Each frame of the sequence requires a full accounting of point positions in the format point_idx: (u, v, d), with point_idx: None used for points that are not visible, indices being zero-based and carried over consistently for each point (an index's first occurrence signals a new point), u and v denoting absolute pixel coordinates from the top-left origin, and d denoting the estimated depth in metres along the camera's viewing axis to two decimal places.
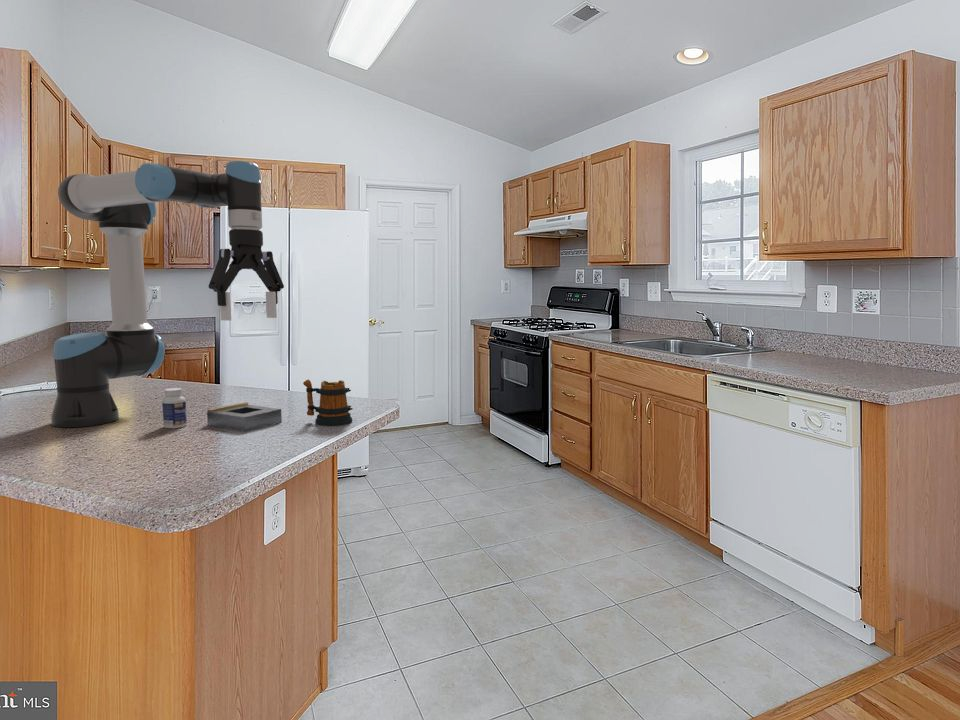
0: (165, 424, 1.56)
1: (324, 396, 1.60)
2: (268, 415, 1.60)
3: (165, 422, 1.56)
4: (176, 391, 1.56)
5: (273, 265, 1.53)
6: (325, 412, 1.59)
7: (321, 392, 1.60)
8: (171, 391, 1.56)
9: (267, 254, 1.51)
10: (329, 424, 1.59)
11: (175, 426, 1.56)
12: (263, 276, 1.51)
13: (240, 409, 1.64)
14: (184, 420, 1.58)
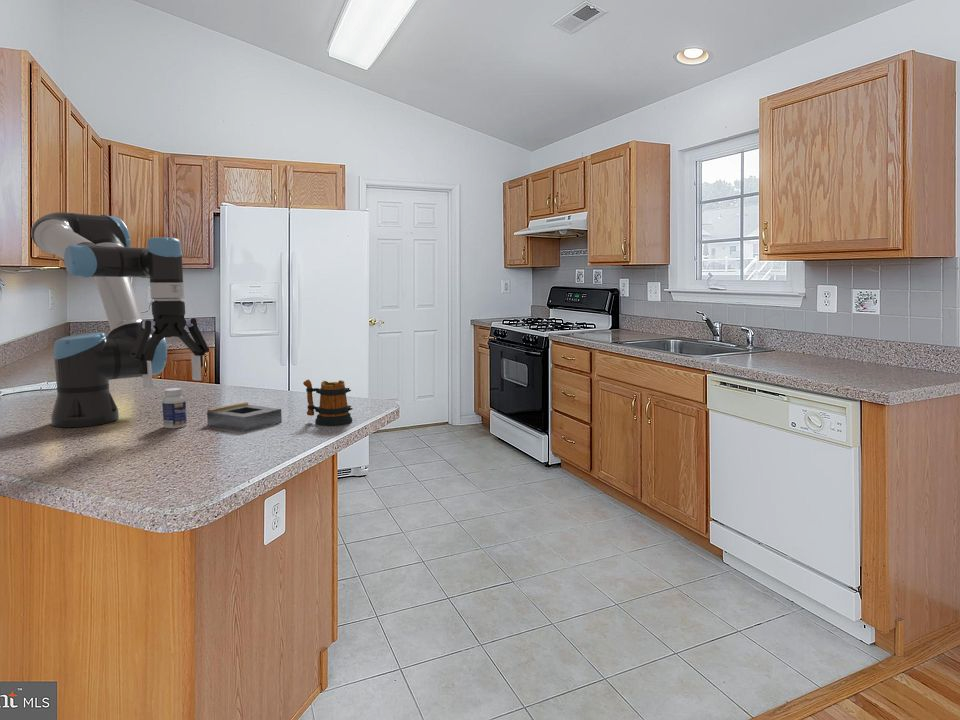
0: (165, 424, 1.56)
1: (324, 396, 1.60)
2: (268, 415, 1.60)
3: (165, 422, 1.56)
4: (176, 391, 1.56)
5: (197, 331, 1.61)
6: (325, 412, 1.59)
7: (321, 392, 1.60)
8: (171, 391, 1.56)
9: (191, 321, 1.60)
10: (329, 424, 1.59)
11: (175, 426, 1.56)
12: (187, 342, 1.60)
13: (240, 409, 1.64)
14: (184, 420, 1.58)
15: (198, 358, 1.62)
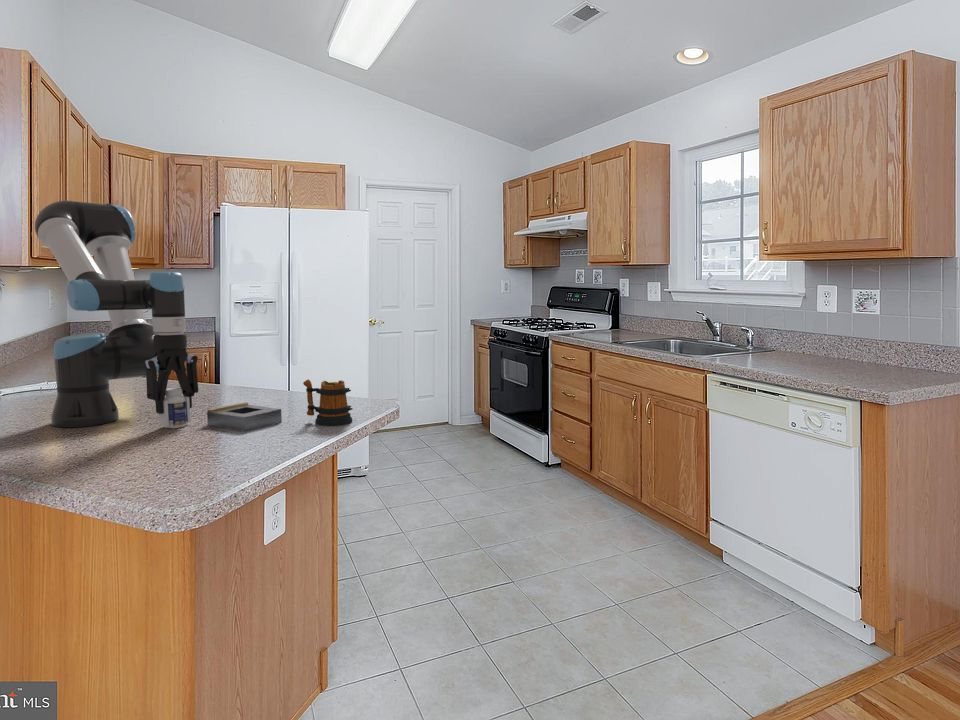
0: None
1: (324, 396, 1.60)
2: (268, 415, 1.60)
3: None
4: (176, 391, 1.56)
5: (194, 369, 1.61)
6: (325, 412, 1.59)
7: (321, 392, 1.60)
8: (171, 391, 1.56)
9: (192, 357, 1.61)
10: (329, 424, 1.59)
11: (175, 426, 1.56)
12: (181, 378, 1.59)
13: (240, 409, 1.64)
14: (184, 420, 1.58)
15: (187, 399, 1.60)
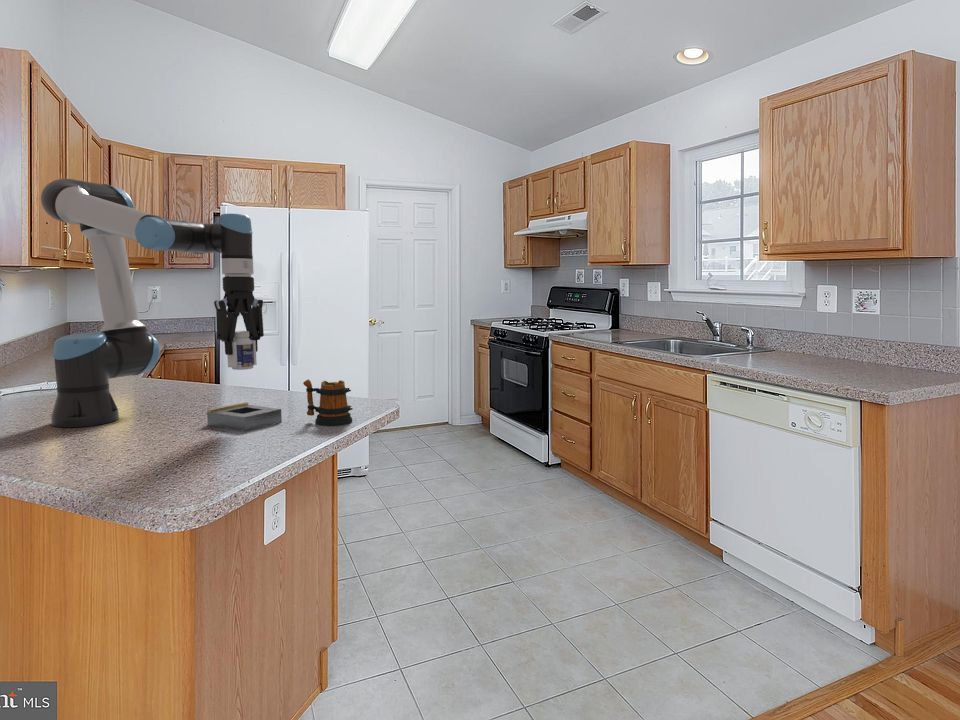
0: None
1: (324, 396, 1.60)
2: (268, 415, 1.60)
3: None
4: (244, 333, 1.58)
5: (260, 313, 1.63)
6: (325, 412, 1.59)
7: (321, 392, 1.60)
8: (240, 333, 1.57)
9: (258, 301, 1.63)
10: (329, 424, 1.59)
11: (243, 367, 1.58)
12: (248, 321, 1.60)
13: (240, 409, 1.64)
14: (251, 362, 1.60)
15: (253, 342, 1.61)
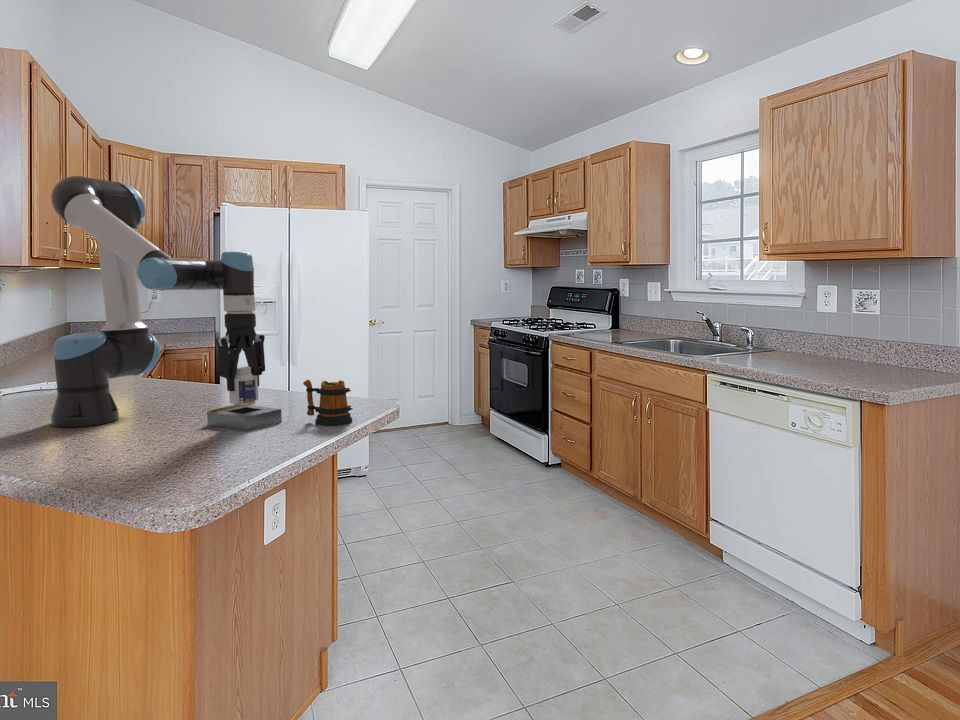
0: None
1: (324, 396, 1.60)
2: (268, 415, 1.60)
3: None
4: (246, 369, 1.59)
5: (262, 348, 1.64)
6: (325, 412, 1.59)
7: (321, 392, 1.60)
8: (242, 369, 1.58)
9: (259, 337, 1.64)
10: (329, 424, 1.59)
11: (245, 403, 1.59)
12: (250, 357, 1.62)
13: (240, 409, 1.64)
14: (253, 398, 1.61)
15: (255, 378, 1.62)
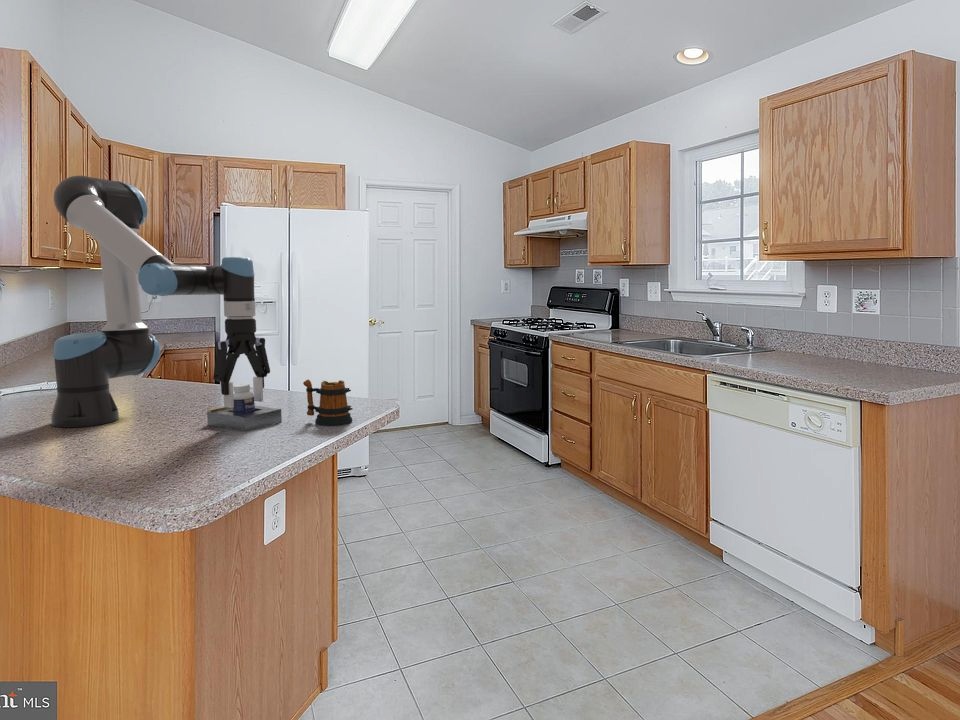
0: None
1: (324, 396, 1.60)
2: (268, 415, 1.60)
3: None
4: (245, 387, 1.59)
5: (264, 351, 1.65)
6: (325, 412, 1.59)
7: (321, 392, 1.60)
8: (241, 387, 1.59)
9: (260, 340, 1.64)
10: (329, 424, 1.59)
11: None
12: (253, 361, 1.63)
13: None
14: None
15: (260, 380, 1.64)
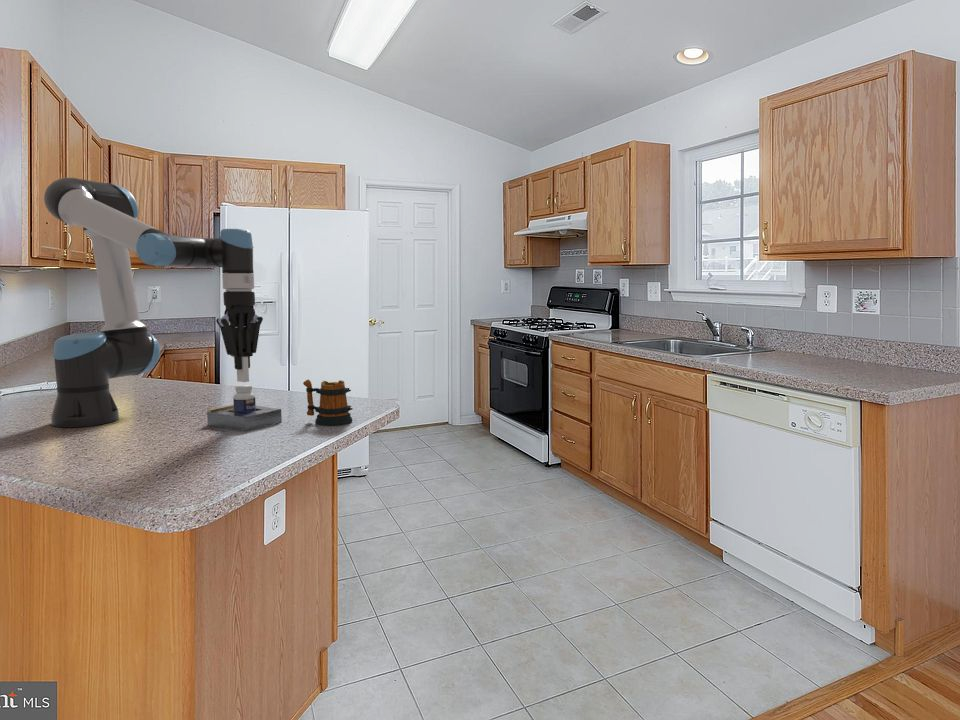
0: None
1: (324, 396, 1.60)
2: (268, 415, 1.60)
3: None
4: (247, 387, 1.60)
5: (257, 329, 1.62)
6: (325, 412, 1.59)
7: (321, 392, 1.60)
8: (243, 388, 1.59)
9: (258, 318, 1.63)
10: (329, 424, 1.59)
11: None
12: (244, 336, 1.60)
13: None
14: None
15: (246, 359, 1.60)
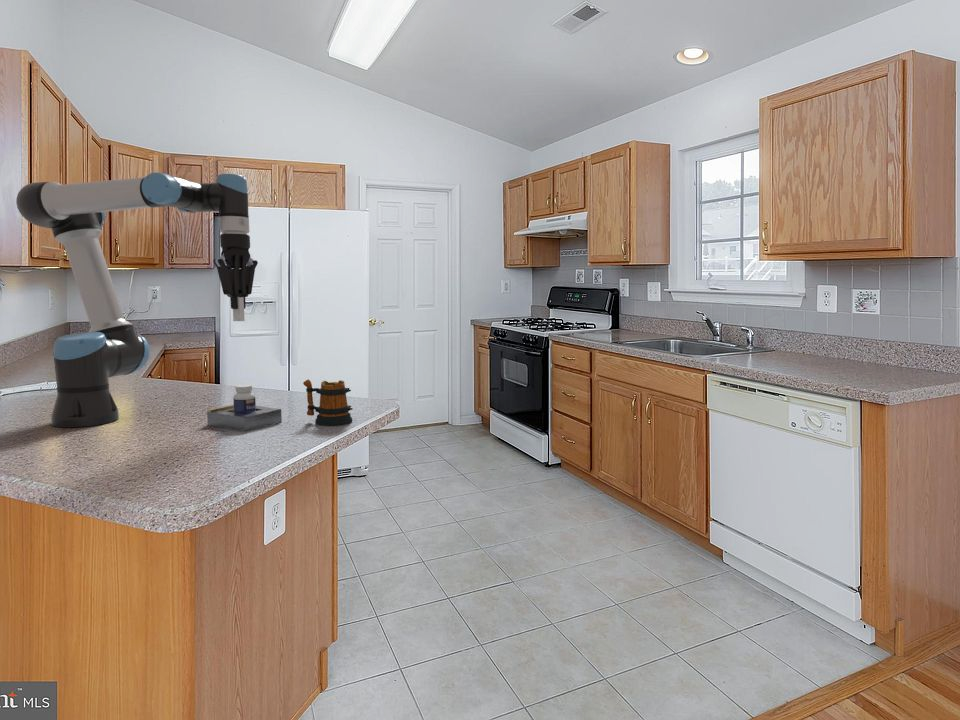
0: None
1: (324, 396, 1.60)
2: (268, 415, 1.60)
3: None
4: (247, 387, 1.60)
5: (252, 272, 1.71)
6: (325, 412, 1.59)
7: (321, 392, 1.60)
8: (243, 388, 1.59)
9: (253, 261, 1.71)
10: (329, 424, 1.59)
11: None
12: (240, 278, 1.68)
13: None
14: None
15: (241, 299, 1.68)
